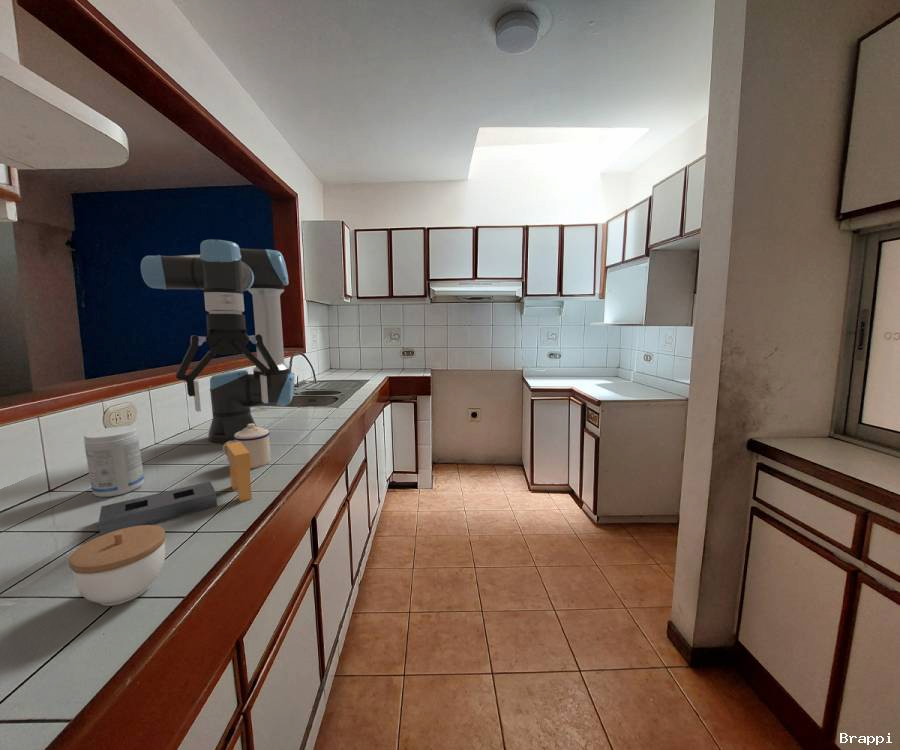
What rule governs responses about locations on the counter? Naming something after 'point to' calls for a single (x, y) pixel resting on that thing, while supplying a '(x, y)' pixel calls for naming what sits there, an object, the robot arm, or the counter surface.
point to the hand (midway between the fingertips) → (233, 406)
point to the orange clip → (239, 469)
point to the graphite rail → (156, 507)
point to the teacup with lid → (254, 444)
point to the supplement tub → (114, 460)
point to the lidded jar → (119, 564)
